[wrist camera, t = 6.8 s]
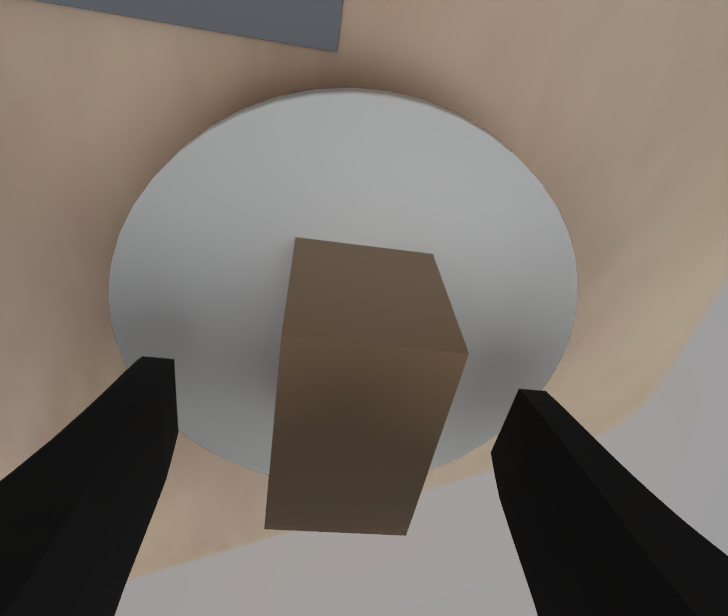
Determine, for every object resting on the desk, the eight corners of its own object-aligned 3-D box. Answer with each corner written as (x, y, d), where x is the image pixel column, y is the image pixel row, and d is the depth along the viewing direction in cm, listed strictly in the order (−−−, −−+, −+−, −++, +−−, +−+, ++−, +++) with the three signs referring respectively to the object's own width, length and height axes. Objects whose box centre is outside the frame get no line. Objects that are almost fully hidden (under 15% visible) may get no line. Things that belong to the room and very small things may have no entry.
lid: (140, 450, 15) (80, 598, 11) (91, 42, 9) (-65, 83, 6) (490, 472, 16) (533, 610, 13) (643, 132, 11) (803, 212, 7)
